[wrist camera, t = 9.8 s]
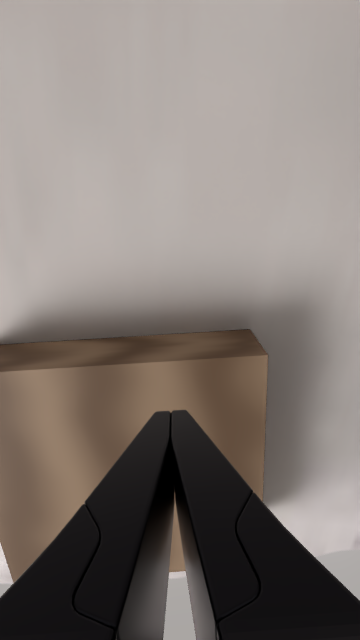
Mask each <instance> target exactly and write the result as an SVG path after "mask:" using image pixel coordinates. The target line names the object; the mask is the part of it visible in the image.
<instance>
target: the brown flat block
mask: <svg viewBox="0 0 360 640" xmlns="http://www.w3.org/2000/svg"><path fill="white" fill-rule="evenodd" d="M267 370H268V354H267V353H266V351H265V350H264V349H263V347H262V346H261V344H260V343H259V342H258V340H257V339H256V337H255V336H254V335H253V333H252V332H251V330H250V329H247V330H231V331H215V332H199V333H183V334H166V335H150V336H134V337H118V338H102V339H85V340H69V341H53V342H37V343H21V344H5V345H0V542H1V546H2V549H3V552H4V555H5V558H6V561H7V564H8V567H9V570H10V573H11V576H12V579H13V582H15V581H16V580H17V579H18V578H19V577H20V576H21V575H22V574H23V573H24V572H25V571H26V570H27V569H28V567H29V566H30V565H31V564H32V563H33V562H34V561H35V560H36V559H37V558H38V556H39V555H40V554H41V553H42V552H43V551H44V550H45V549H46V548H47V547H48V545H49V544H50V543H51V542H52V541H53V540H54V539H55V537H56V536H57V535H58V534H59V533H60V531H61V530H62V529H63V528H64V527H65V525H66V524H67V523H68V522H69V521H70V519H71V518H72V517H73V516H74V514H75V513H76V512H77V510H78V509H79V508H80V507H81V505H83V504H84V502H85V500H86V499H87V498H88V497H89V495H90V494H91V493H92V492H93V490H94V489H95V488H96V486H97V485H98V484H99V483H100V481H101V480H102V479H103V478H104V476H105V475H106V474H107V472H108V471H109V470H110V469H111V467H112V466H113V465H114V463H115V462H116V461H117V460H118V458H119V457H120V456H121V455H122V453H123V452H124V451H125V449H126V448H127V447H128V446H129V444H130V443H131V442H132V441H133V439H134V438H135V437H136V435H137V434H138V433H139V432H140V430H141V429H142V428H143V427H144V425H145V424H146V423H147V421H148V420H149V419H150V418H151V416H152V415H153V414H154V413H155V412H157V411H170V412H172V411H173V410H187V411H188V412H189V413H190V415H191V416H192V417H193V418H194V419H195V421H196V422H197V423H198V424H199V425H200V427H201V428H202V429H203V430H204V432H205V433H206V434H207V435H208V436H209V438H210V439H211V440H212V441H213V442H214V444H215V445H216V446H217V447H218V449H219V450H220V451H221V452H222V453H223V455H224V456H225V457H226V458H227V459H228V461H229V462H230V463H231V464H232V465H233V467H234V468H235V469H236V470H237V472H238V473H239V474H240V475H241V476H242V478H243V479H244V480H245V481H246V482H247V484H248V485H249V486H250V487H251V488H252V490H253V493H256V494H257V496H258V497H259V498H260V499H261V500H262V502H263V477H264V450H265V423H266V397H267ZM179 571H186V569H185V562H184V556H183V549H182V543H181V536H180V530H179V523H178V517H177V510H176V501H175V505H174V519H173V530H172V542H171V553H170V565H169V572H179Z"/></svg>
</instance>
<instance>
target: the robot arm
mask: <svg viewBox="0 0 360 640" xmlns="http://www.w3.org/2000/svg"><path fill="white" fill-rule="evenodd" d="M175 501H176V510H177V517H178V523H179V530H180V536H181V543H182V549H183V556H184V562H185V569H186V575H187V582H188V588H189V594H190V601H191V608H192V614H193V621H194V627H195V634H196V640H360V601H359V600H358V599H357V598H356V597H355V596H354V595H353V594H352V593H351V592H350V591H349V590H348V589H347V588H346V587H345V586H344V585H343V584H342V583H341V582H340V581H339V580H338V579H337V578H336V577H335V576H333V574H331V573H330V572H329V571H328V570H327V569H326V568H325V567H324V566H323V565H322V564H321V563H320V562H319V561H318V560H317V559H316V558H315V557H314V556H313V555H312V554H311V553H310V552H309V551H308V550H307V549H306V548H305V547H304V546H303V545H302V544H301V543H300V542H299V541H298V540H297V539H296V538H295V537H294V536H293V535H292V534H291V533H290V532H289V531H288V530H287V529H286V528H285V527H284V526H283V525H282V524H281V522H280V521H279V520H278V519H277V518H276V517H275V516H274V515H273V513H272V512H271V511H270V510H269V509H268V508H267V507H266V505H265V504H264V503H263V502H262V500H261V499H260V498H259V497H258V496H257V494H256V493H253V490H252V488H251V487H250V486H249V485H248V484H247V482H246V481H245V480H244V479H243V478H242V476H241V475H240V474H239V473H238V472H237V470H236V469H235V468H234V467H233V465H232V464H231V463H230V462H229V461H228V459H227V458H226V457H225V456H224V455H223V453H222V452H221V451H220V450H219V449H218V447H217V446H216V445H215V444H214V442H213V441H212V440H211V439H210V438H209V436H208V435H207V434H206V433H205V432H204V430H203V429H202V428H201V427H200V425H199V424H198V423H197V422H196V421H195V419H194V418H193V417H192V416H191V415H190V413H189V412H188V411H187V410H173V411H172V412H170V411H157V412H155V413H154V414H153V415H152V416H151V418H150V419H149V420H148V421H147V423H146V424H145V425H144V427H143V428H142V429H141V430H140V432H139V433H138V434H137V435H136V437H135V438H134V439H133V441H132V442H131V443H130V444H129V446H128V447H127V448H126V449H125V451H124V452H123V453H122V455H121V456H120V457H119V458H118V460H117V461H116V462H115V463H114V465H113V466H112V467H111V469H110V470H109V471H108V472H107V474H106V475H105V476H104V478H103V479H102V480H101V481H100V483H99V484H98V485H97V486H96V488H95V489H94V490H93V492H92V493H91V494H90V495H89V497H88V498H87V499H86V500H85V502H84V504H83V505H81V507H80V508H79V509H78V510H77V512H76V513H75V514H74V516H73V517H72V518H71V519H70V521H69V522H68V523H67V524H66V525H65V527H64V528H63V529H62V530H61V531H60V533H59V534H58V535H57V536H56V537H55V539H54V540H53V541H52V542H51V543H50V544H49V545H48V547H47V548H46V549H45V550H44V551H43V552H42V553H41V554H40V555H39V556H38V558H37V559H36V560H35V561H34V562H33V563H32V564H31V565H30V566H29V567H28V569H27V570H26V571H25V572H24V573H23V574H22V575H21V576H20V577H19V578H18V579H17V580H16V581H15V582H14V583H13V584H12V585H11V587H10V588H9V589H8V590H7V591H6V592H5V593H4V594H3V595H2V596H1V597H0V640H163V633H164V622H165V611H166V599H167V588H168V576H169V565H170V553H171V542H172V530H173V519H174V505H175Z"/></svg>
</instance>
